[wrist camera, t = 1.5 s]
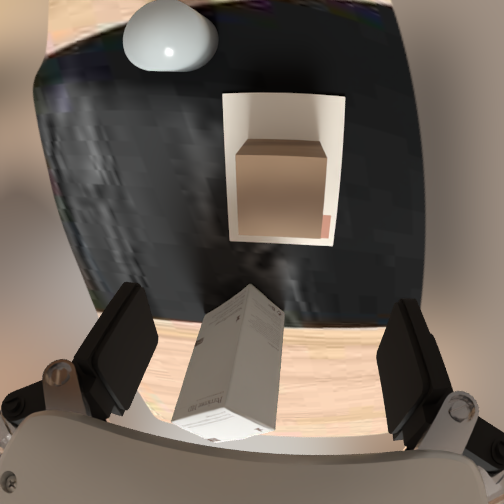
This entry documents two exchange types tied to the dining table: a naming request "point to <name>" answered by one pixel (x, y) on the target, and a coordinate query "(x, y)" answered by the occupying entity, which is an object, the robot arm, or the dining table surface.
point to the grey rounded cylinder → (169, 37)
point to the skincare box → (234, 370)
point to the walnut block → (280, 188)
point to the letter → (290, 128)
